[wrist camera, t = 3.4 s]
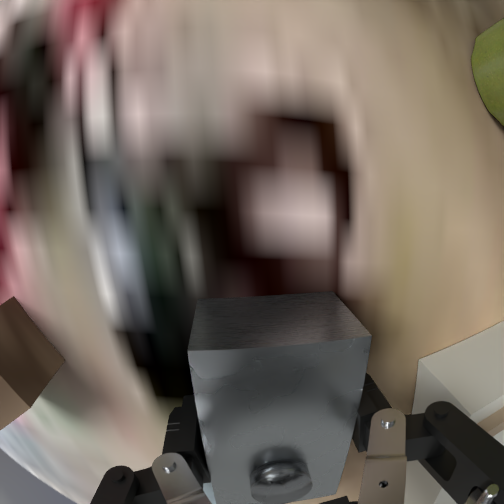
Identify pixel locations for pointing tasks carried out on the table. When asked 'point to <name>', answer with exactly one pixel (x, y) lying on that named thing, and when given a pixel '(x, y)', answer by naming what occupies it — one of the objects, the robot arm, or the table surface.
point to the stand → (460, 398)
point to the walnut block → (22, 362)
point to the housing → (276, 393)
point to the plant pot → (490, 68)
